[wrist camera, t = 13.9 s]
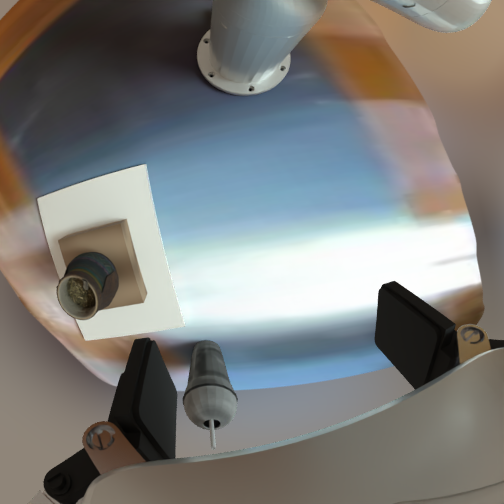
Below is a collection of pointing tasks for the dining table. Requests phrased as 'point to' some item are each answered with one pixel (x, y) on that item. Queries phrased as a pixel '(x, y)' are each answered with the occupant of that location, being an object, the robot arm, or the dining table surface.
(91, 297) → the mate gourd
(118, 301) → the walnut plinth
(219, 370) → the beverage cup
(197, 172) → the dining table surface
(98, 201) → the board
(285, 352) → the dining table surface
